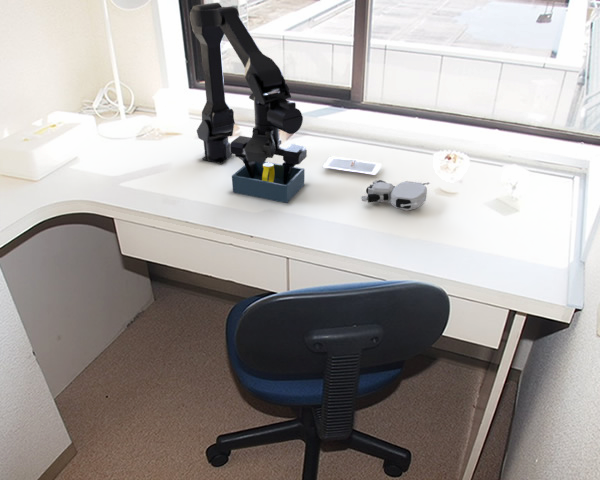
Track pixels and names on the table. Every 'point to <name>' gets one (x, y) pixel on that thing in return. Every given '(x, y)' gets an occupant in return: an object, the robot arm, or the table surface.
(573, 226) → the table surface
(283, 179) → the robot arm
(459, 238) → the table surface
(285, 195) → the organiser tray
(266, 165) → the watch
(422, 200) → the robot toy
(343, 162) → the touchpad
